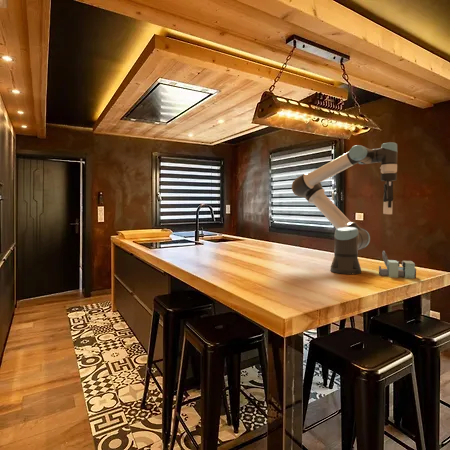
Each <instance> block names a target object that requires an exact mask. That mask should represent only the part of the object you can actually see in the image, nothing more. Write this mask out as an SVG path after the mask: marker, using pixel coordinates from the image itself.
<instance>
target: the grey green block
mask: <svg viewBox="0 0 450 450" xmlns="http://www.w3.org/2000/svg"><path fill="white" fill-rule="evenodd" d="M398 267H400V261H399V260H396V259H395V260H394V259H388V260H387V267H386V269H389V276H388V277H389V278H397V279H398V278H399V277H398Z"/></svg>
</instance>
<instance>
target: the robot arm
mask: <svg viewBox="0 0 450 450" xmlns="http://www.w3.org/2000/svg"><path fill="white" fill-rule="evenodd" d="M376 163H377V164H379V163H380V167H379V169H380V181H381V182H385V183H384V184H383V198H382V201H383V208H382V209H383V210H382V211H383V212H382V213H383V215H393V206H394V205H393V203H394V182H396V181H397V180H398V179H397V177H398V174H397V172H398V143H396V142H391V141H389V142H384V143H382V144H381V146H380V147H379V148H372V149H371V148H368V147H366V146H363V145H361V144H356V145H353V146H352V147H351V148H350V149H349V151H347V152H346V153H343V154H342V155H340V156H338V157H337V158H335V159H333V160H331V161H328V163H326V164H324V165H322V166H320V167H318V168H316V169H314V170H313V171H311V172H308V173H306V172H305V173H303V174H301V175H300V176H298V177H296V178H295V179H294V180H293V181H292V184H291V190H292V193H293V194H294V195H295V196H297V197H301V198H305V200H306V201H307V202H308V203H309V204H313V205H314V206H315V207H316V208H317V209H318V211H320V213H322V215H323V216H324V217H325V218H326V219H327V221H328V222H329V223H331V225H332V226H333V227H334V228H335V230H334V235H333V237H334V242H333V243H334V245H333V246H334V249H333V250H334V256H333V260H332V262H331V265H330V272H332V273H336V274H343V275H359V274H361V272H362V268H361V264H360V261H359V258H358V255H359V254H358V253H359V252H358V251H359V250H364V249H365V248H367V246H368V245H369V244H370V242H371V236H370V233H369V232H368V231H367V230H366V229H365V228H361V227H360V226H359V225H358V224H357V222H355V221H351V220H350V219H349V218H348V217H347V216H346V215H345V214H344V213H343V212H342V211H341V210H340V209H339V208H338V206H336V204H335V203H334V202H333V201H332V200H331V199H330V198H329V197H328V196H327V194H326V193H325V192H326V191H325V189H324V188H323V184H322V183H321V182H324V181H325V180H327V179H329V178H332V177H333V176H336V175H338V174H339V173H342V172H343V171H345V170H347V169H349V168H350V167H353V166H355V165H357V164H359V165H368V164H376Z"/></svg>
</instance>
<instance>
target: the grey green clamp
mask: <svg viewBox="0 0 450 450" xmlns="http://www.w3.org/2000/svg"><path fill="white" fill-rule="evenodd" d="M401 267H403V270H398V278H405V279H414V280H415V279H416V278H417V268H416V264H415V262H413V261H412V260H402V261H401ZM378 275H379V276H383V277H389V269H387V268H382V266H381V265H378Z"/></svg>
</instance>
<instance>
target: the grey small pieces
mask: <svg viewBox="0 0 450 450" xmlns="http://www.w3.org/2000/svg"><path fill="white" fill-rule="evenodd" d="M381 254H382V260H383V263H384V265H385V268H387V260H389V258H388V254H387V253H386V251H385V250H382V253H381ZM398 270H403V267H402V266H399V267H398Z"/></svg>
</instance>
